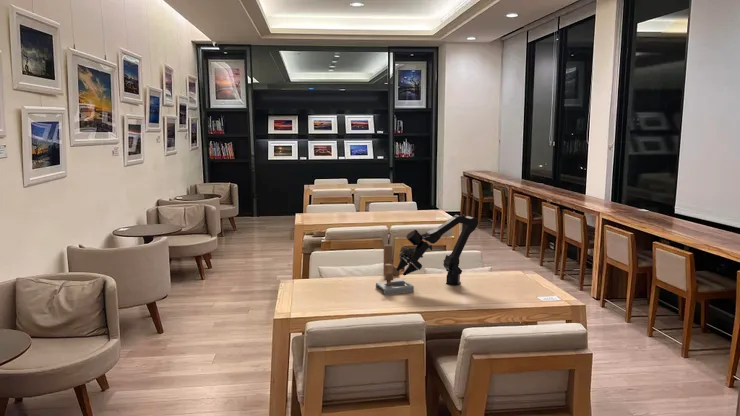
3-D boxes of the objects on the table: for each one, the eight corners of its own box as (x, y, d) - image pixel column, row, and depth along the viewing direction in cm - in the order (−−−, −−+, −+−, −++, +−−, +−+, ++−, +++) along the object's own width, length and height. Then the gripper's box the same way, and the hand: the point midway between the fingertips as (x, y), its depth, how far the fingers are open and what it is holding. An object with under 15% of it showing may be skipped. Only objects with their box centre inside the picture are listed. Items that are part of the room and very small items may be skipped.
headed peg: (396, 291, 286) (396, 265, 283) (386, 292, 283) (386, 266, 281) (390, 288, 291) (390, 262, 289) (380, 289, 288) (381, 264, 286)
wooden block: (398, 273, 319) (398, 244, 317) (399, 275, 315) (399, 245, 312) (383, 274, 319) (383, 244, 316) (384, 276, 314) (384, 245, 312)
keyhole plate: (404, 285, 297) (404, 279, 296) (413, 291, 284) (413, 285, 284) (375, 287, 291) (375, 282, 291) (384, 294, 279) (384, 288, 279)
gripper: (402, 237, 295) (383, 259, 293) (416, 244, 278) (396, 267, 276) (415, 250, 299) (397, 271, 297) (430, 258, 282) (410, 280, 280)
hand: (400, 272), depth 288 cm, fingers open, 9 cm apart
